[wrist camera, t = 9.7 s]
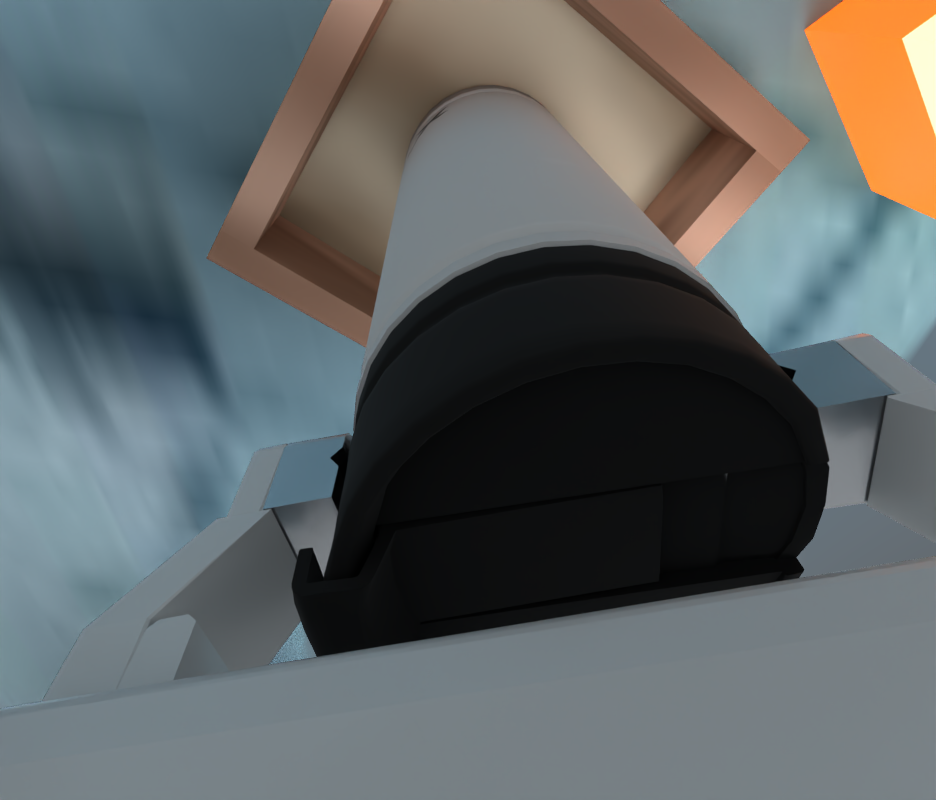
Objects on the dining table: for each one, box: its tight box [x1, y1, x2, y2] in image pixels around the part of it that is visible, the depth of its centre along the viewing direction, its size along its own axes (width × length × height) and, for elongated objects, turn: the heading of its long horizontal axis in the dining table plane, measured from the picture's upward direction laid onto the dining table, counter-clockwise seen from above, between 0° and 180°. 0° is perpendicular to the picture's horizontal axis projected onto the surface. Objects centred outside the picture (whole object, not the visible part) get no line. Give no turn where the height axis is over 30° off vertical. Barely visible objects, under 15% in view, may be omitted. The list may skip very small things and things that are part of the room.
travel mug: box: [291, 85, 830, 657], centre depth 15 cm, size 6×7×20 cm
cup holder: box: [207, 0, 810, 347], centre depth 23 cm, size 15×15×6 cm
